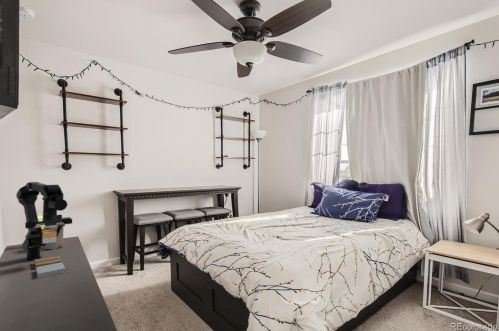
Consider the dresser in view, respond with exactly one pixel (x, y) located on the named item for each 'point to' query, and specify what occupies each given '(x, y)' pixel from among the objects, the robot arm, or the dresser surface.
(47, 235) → the cover
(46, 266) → the slate stand
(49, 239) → the housing base
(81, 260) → the dresser surface
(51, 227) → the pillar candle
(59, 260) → the walnut stand
